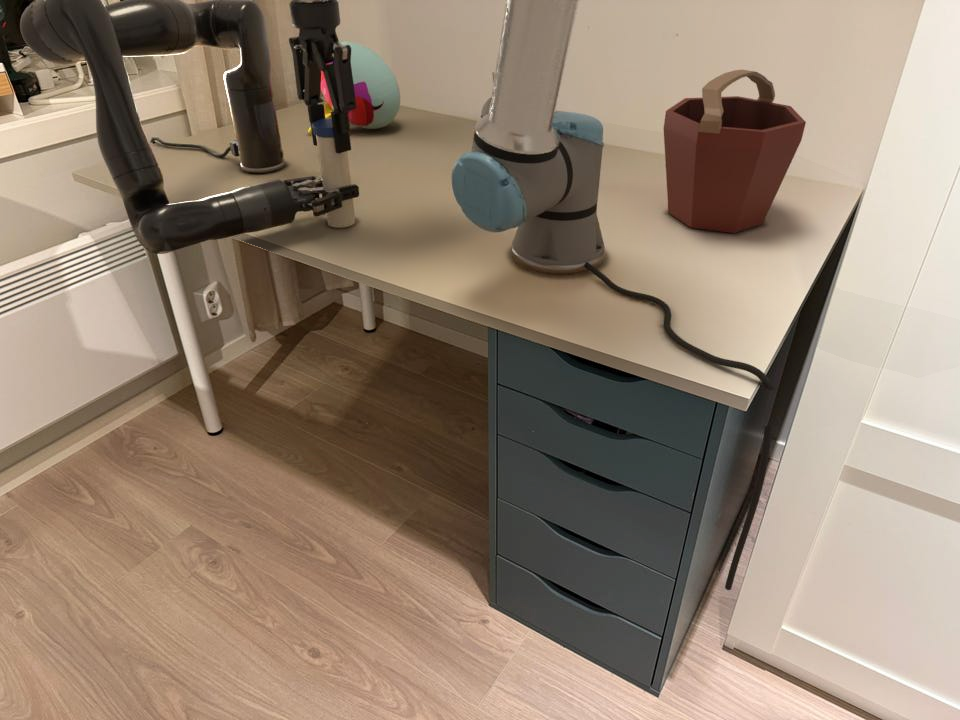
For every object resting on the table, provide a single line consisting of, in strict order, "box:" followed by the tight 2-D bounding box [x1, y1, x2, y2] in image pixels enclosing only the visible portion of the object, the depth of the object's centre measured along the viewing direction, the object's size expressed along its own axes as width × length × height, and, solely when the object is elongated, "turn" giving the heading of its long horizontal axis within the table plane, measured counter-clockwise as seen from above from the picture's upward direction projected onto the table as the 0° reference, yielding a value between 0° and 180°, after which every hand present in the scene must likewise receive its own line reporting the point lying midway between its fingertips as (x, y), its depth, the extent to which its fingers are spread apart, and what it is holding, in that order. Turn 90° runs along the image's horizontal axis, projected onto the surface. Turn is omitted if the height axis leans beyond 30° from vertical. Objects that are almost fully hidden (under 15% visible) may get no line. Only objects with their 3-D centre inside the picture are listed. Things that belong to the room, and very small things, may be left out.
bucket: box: [663, 69, 807, 234], centre depth 125 cm, size 24×22×25 cm
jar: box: [316, 136, 356, 229], centre depth 125 cm, size 5×5×18 cm
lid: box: [312, 118, 334, 137], centre depth 120 cm, size 6×6×2 cm
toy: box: [307, 41, 401, 135], centre depth 176 cm, size 24×24×20 cm
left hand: (350, 185), depth 128 cm, fingers closed on jar, 5 cm apart
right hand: (332, 147), depth 122 cm, fingers closed on lid, 6 cm apart
